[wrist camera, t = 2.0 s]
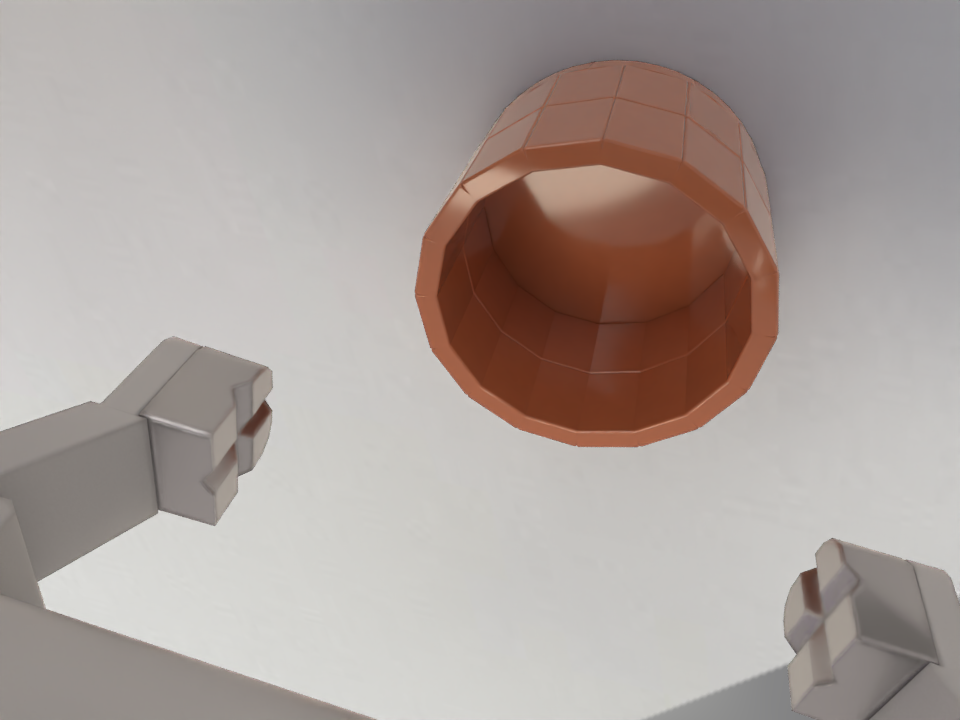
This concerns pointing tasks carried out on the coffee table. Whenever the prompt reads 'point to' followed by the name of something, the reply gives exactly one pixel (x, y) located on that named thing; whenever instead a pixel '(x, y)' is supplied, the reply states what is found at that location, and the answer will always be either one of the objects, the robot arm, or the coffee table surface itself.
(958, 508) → the coffee table surface
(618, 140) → the bowl
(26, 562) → the robot arm
